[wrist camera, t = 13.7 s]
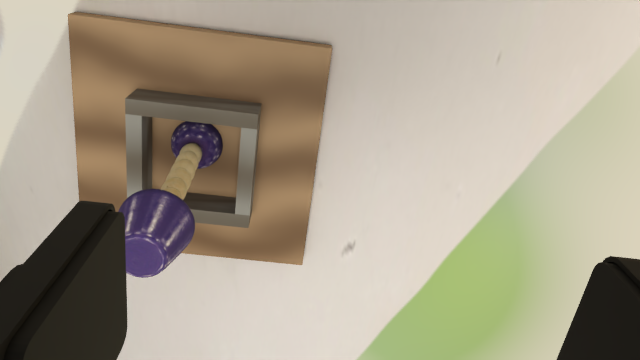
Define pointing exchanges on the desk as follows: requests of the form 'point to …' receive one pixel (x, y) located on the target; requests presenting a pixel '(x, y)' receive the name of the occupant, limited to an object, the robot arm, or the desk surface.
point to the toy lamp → (168, 203)
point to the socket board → (203, 107)
